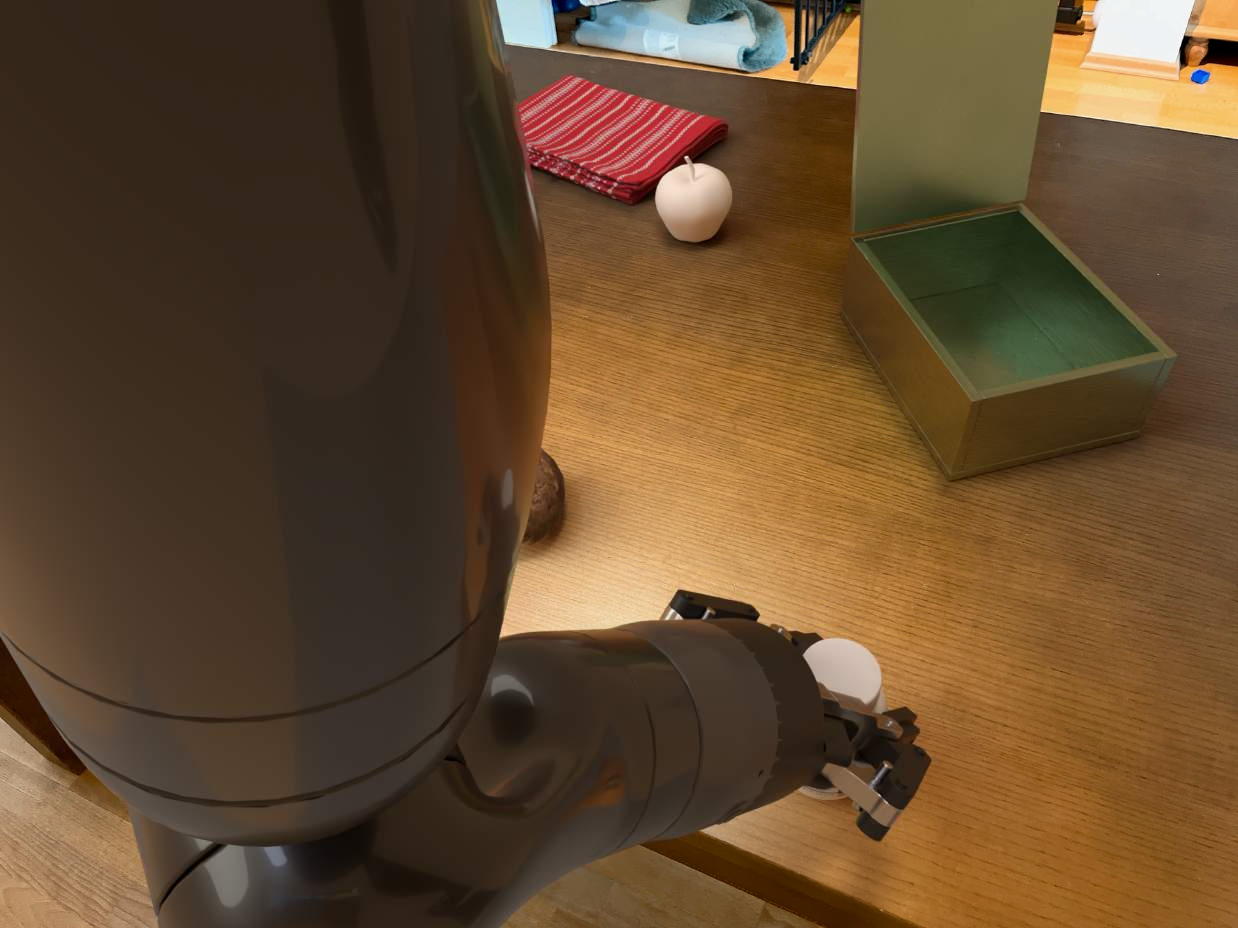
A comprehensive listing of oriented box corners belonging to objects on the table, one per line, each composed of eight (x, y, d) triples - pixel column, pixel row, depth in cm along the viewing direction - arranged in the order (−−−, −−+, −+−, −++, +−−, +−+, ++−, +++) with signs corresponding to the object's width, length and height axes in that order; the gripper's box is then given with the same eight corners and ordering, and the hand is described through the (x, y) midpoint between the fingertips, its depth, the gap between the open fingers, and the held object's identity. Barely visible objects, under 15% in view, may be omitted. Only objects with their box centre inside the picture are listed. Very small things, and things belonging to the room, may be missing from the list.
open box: (1137, 438, 66) (1178, 355, 61) (948, 481, 65) (972, 401, 59) (999, 282, 79) (1022, 203, 74) (839, 315, 78) (850, 236, 72)
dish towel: (636, 210, 91) (635, 186, 89) (470, 146, 102) (465, 124, 100) (735, 137, 99) (735, 114, 97) (571, 86, 111) (568, 64, 109)
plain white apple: (645, 224, 89) (641, 147, 83) (711, 205, 91) (712, 128, 85) (674, 261, 85) (672, 183, 79) (743, 241, 86) (747, 163, 80)
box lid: (1075, -97, 61) (1038, -103, 64) (868, -64, 59) (841, -72, 63) (1025, 200, 73) (996, 182, 77) (852, 234, 72) (831, 214, 75)
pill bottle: (861, 816, 49) (885, 737, 42) (764, 784, 50) (773, 703, 44) (879, 727, 52) (904, 642, 45) (787, 700, 53) (799, 614, 47)
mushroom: (415, 493, 63) (455, 441, 59) (492, 456, 69) (533, 407, 65) (486, 585, 62) (532, 539, 58) (557, 539, 68) (603, 494, 64)
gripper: (895, 781, 30) (1020, 725, 43) (609, 529, 38) (790, 549, 51) (773, 950, 31) (929, 845, 45) (523, 675, 39) (721, 657, 53)
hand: (854, 688), depth 48 cm, fingers closed on pill bottle, 5 cm apart
